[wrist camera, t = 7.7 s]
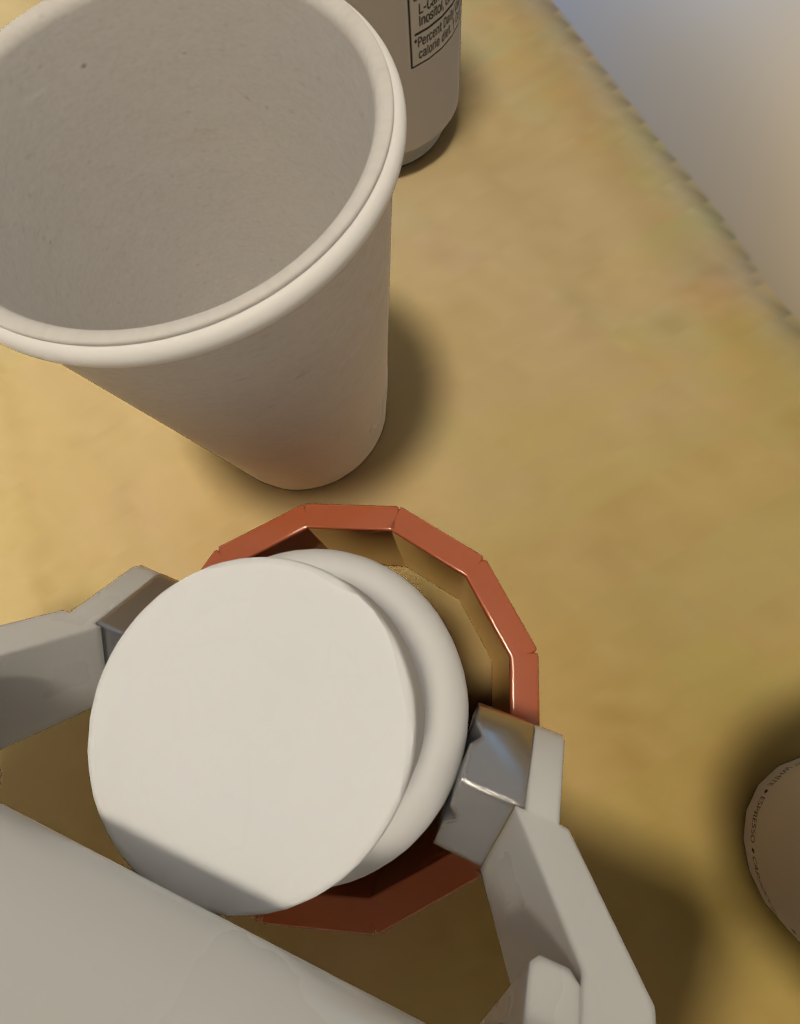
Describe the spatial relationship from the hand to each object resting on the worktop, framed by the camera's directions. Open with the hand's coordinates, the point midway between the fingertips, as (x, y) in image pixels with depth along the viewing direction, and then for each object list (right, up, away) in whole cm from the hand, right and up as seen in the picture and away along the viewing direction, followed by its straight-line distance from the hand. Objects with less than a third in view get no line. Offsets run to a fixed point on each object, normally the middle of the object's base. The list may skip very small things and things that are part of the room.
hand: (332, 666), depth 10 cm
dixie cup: (-2, +6, +8) cm, 11 cm away
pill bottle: (0, -2, +6) cm, 6 cm away
